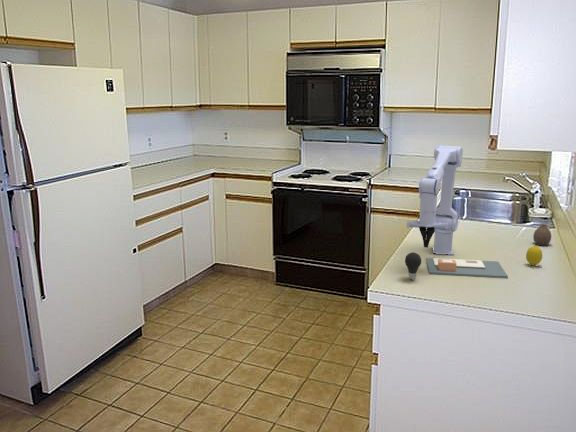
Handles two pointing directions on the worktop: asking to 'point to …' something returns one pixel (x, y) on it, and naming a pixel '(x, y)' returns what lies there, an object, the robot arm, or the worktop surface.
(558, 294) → the worktop surface
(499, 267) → the mat
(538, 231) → the brown pointed fruit
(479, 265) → the ticket
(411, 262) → the light bulb
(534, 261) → the lemon
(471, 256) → the worktop surface
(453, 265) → the stub
